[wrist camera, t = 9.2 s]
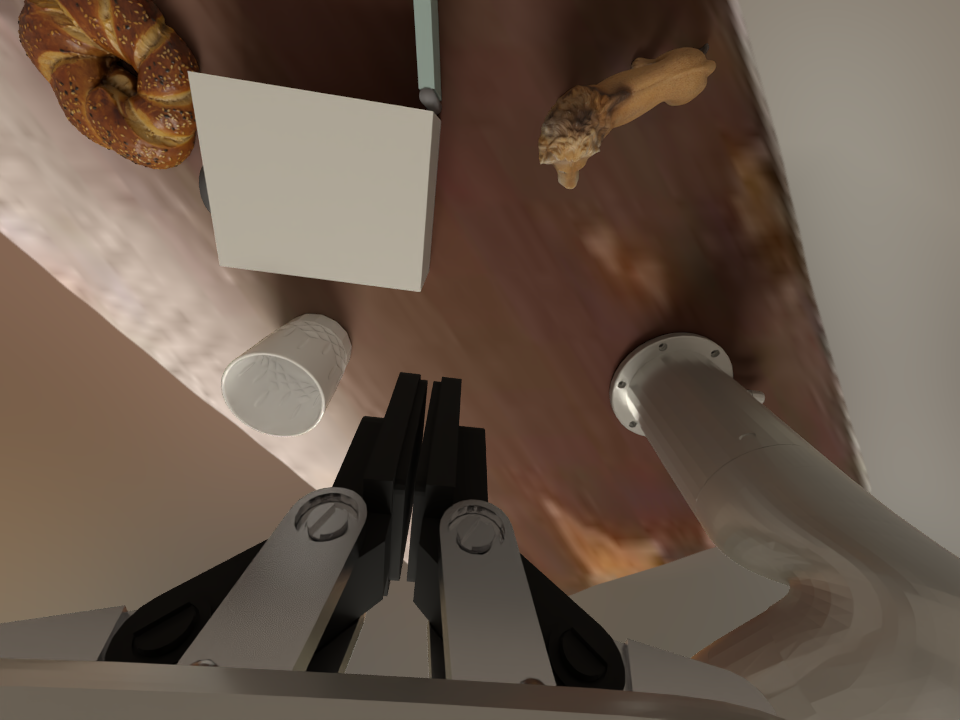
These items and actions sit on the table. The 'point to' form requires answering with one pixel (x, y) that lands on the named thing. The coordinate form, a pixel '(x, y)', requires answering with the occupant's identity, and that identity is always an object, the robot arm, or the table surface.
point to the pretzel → (116, 74)
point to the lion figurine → (617, 106)
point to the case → (317, 182)
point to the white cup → (288, 376)
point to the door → (428, 53)
